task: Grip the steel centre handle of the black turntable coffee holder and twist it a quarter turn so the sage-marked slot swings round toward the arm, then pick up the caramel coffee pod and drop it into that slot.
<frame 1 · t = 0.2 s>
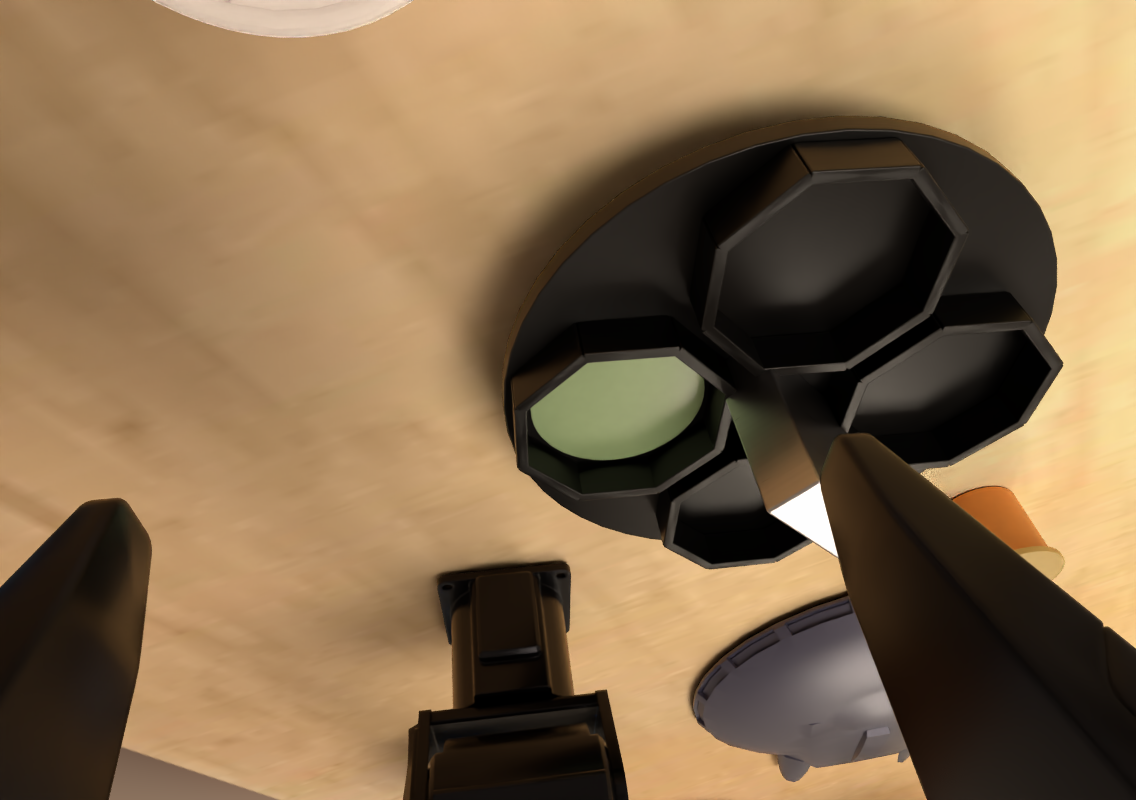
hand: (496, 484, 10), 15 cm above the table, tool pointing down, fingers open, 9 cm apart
cup holder: (799, 442, 25), point 5 cm above the table, hinge at 0.0°
coffee pod: (973, 510, 40), on the table
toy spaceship: (861, 679, 54), on the table
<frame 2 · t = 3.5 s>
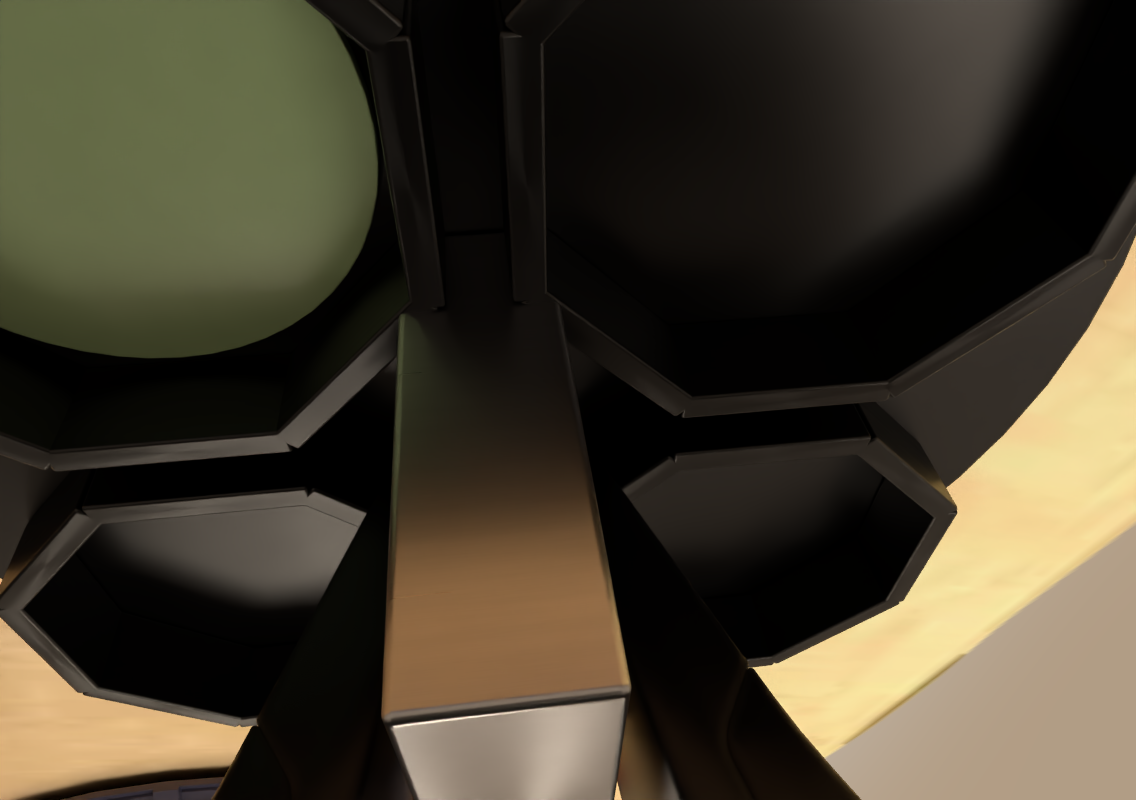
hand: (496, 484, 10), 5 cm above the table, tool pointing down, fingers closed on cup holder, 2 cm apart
cup holder: (498, 521, 10), point 5 cm above the table, hinge at 0.0°, touching gripper
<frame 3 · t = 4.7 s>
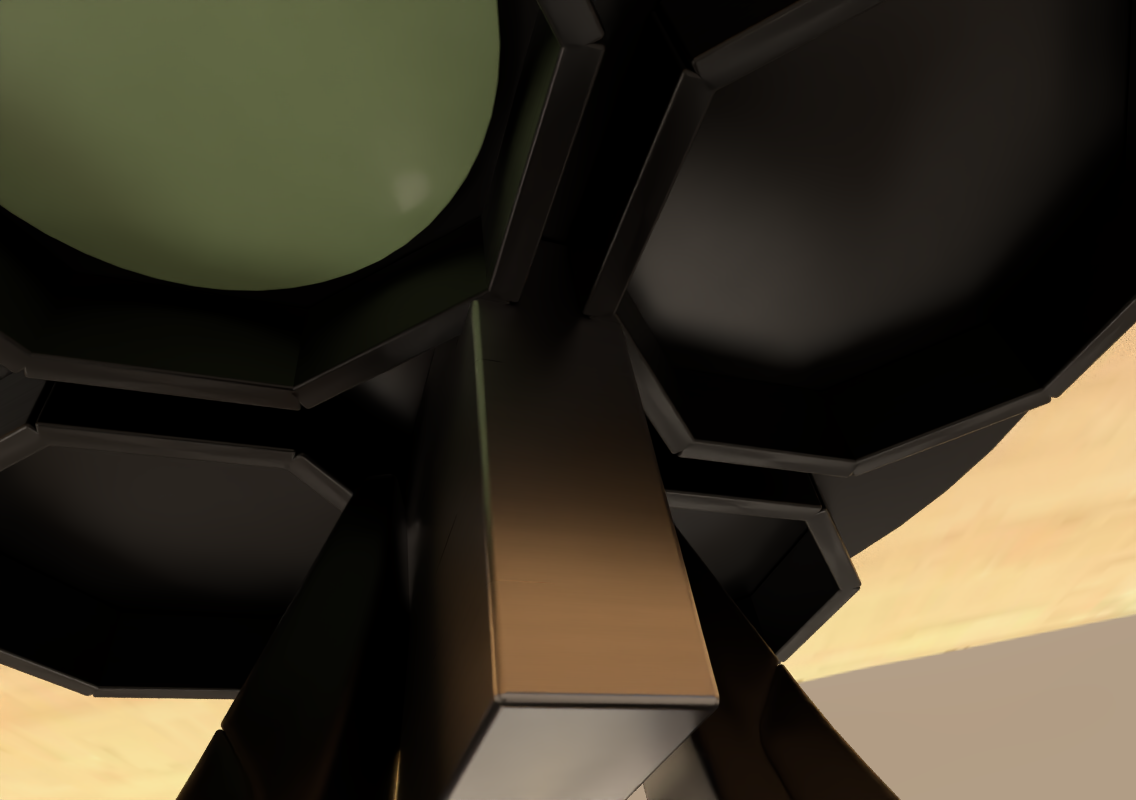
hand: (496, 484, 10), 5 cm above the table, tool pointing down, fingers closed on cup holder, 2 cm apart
cup holder: (501, 522, 10), point 5 cm above the table, hinge at 44.8°, touching gripper
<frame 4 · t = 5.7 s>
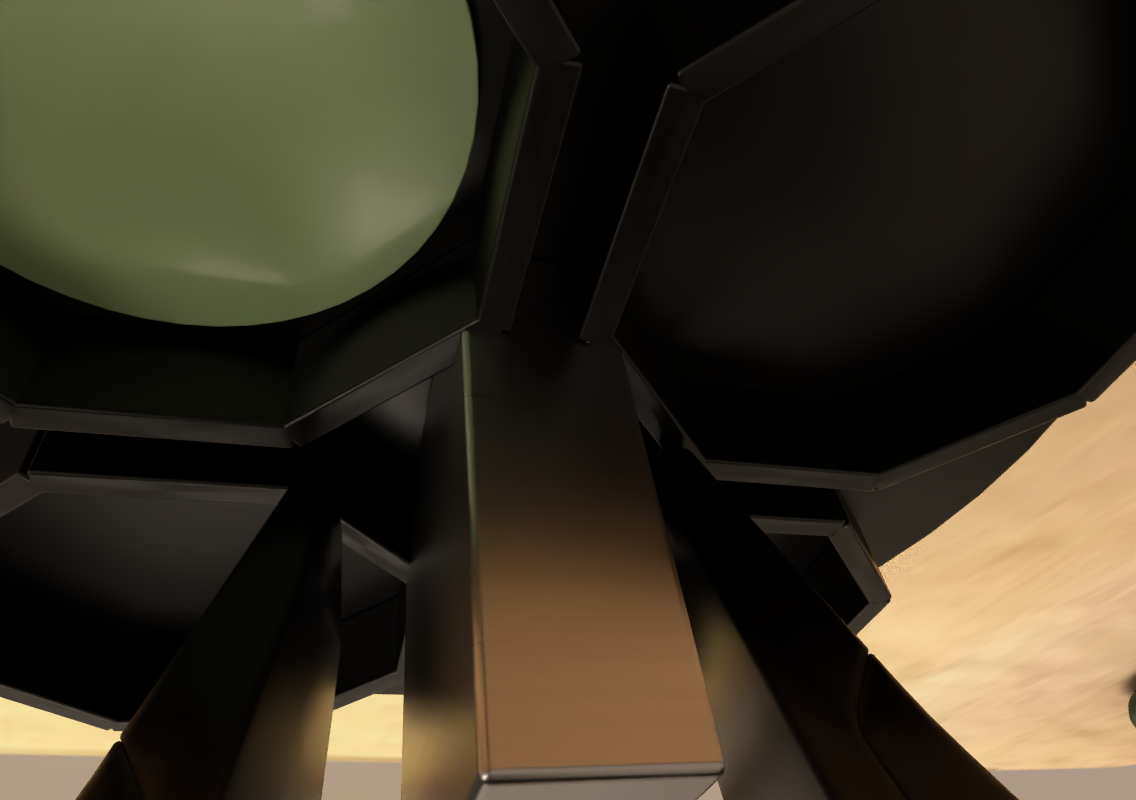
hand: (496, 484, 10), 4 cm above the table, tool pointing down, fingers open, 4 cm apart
cup holder: (504, 556, 9), point 5 cm above the table, hinge at 80.4°, touching gripper
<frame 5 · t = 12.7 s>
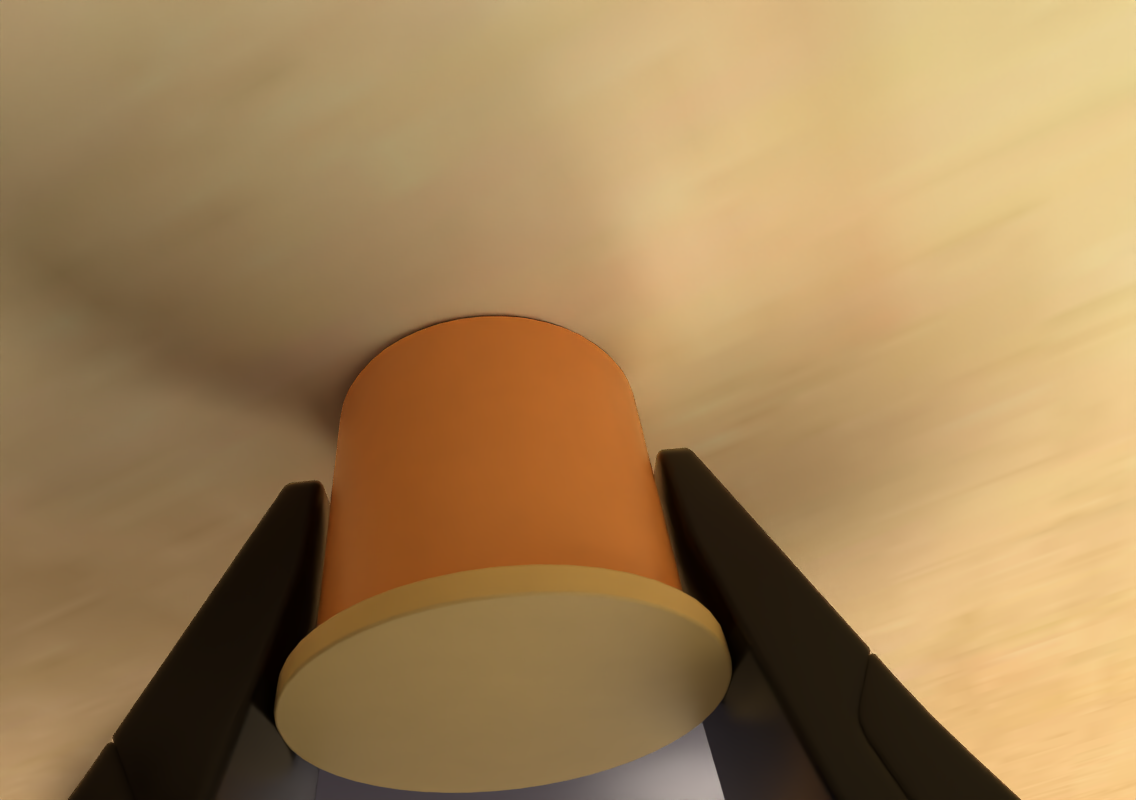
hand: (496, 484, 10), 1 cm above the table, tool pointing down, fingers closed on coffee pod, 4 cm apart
coffee pod: (491, 426, 11), on the table, touching gripper
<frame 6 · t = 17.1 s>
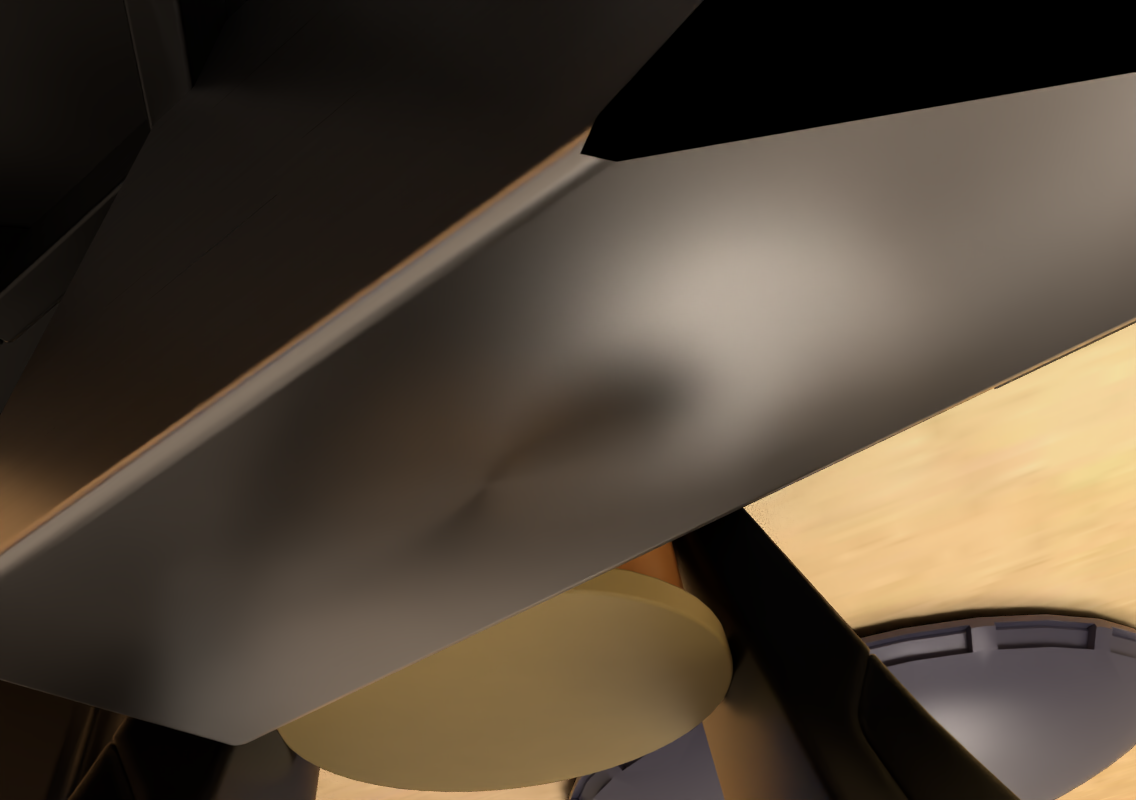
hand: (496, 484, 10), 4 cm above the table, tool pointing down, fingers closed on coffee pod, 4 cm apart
cup holder: (461, 89, 5), point 5 cm above the table, hinge at 80.4°
coffee pod: (491, 423, 11), point 3 cm above the table, touching gripper
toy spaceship: (846, 767, 34), on the table
when the fingers open (6 cm above the table, at t = 24.3 s): coffee pod drops 2 cm, resting on cup holder.
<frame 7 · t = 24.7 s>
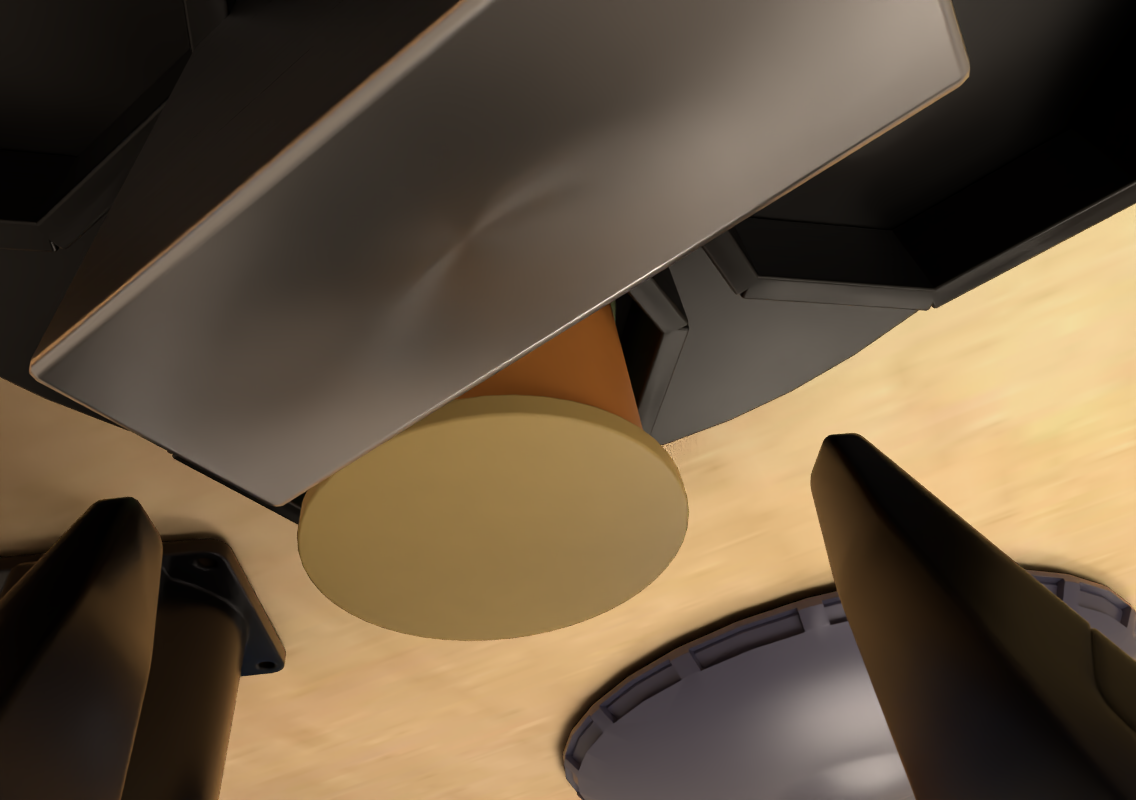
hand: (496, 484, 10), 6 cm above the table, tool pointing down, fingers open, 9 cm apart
cup holder: (452, 5, 6), point 5 cm above the table, hinge at 80.6°, touching coffee pod
coffee pod: (483, 330, 12), point 3 cm above the table, touching cup holder
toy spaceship: (831, 729, 35), on the table
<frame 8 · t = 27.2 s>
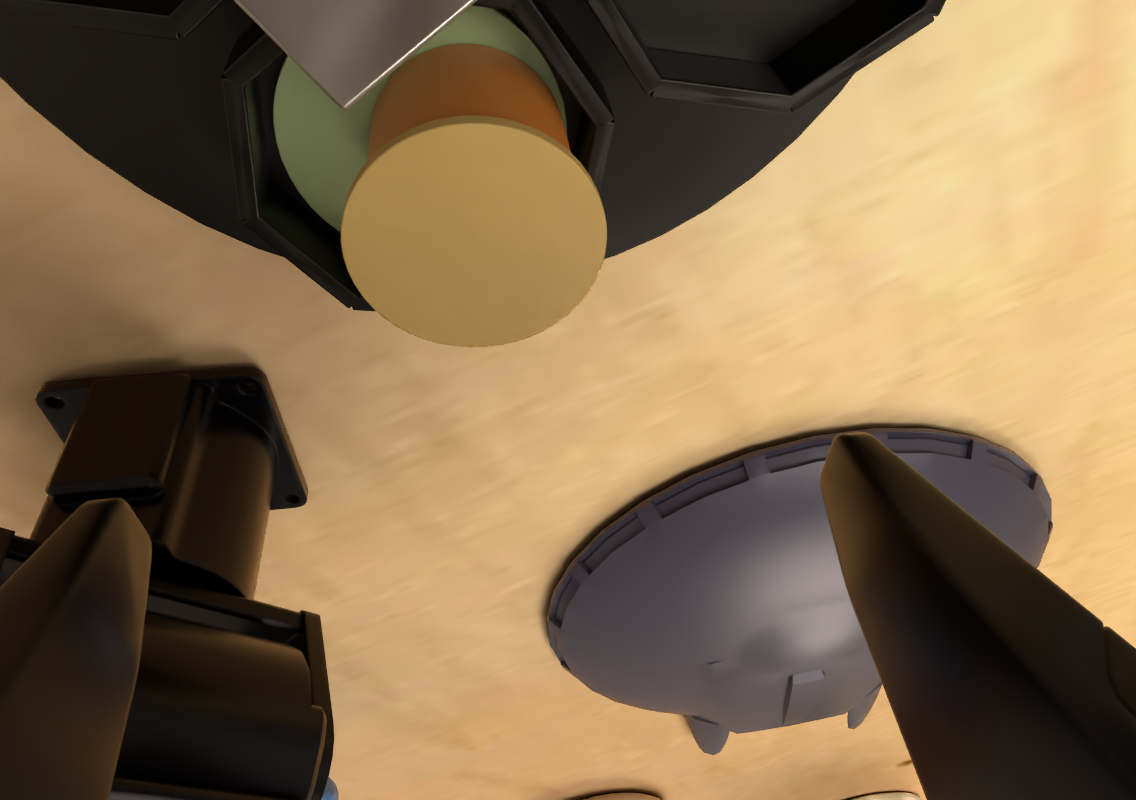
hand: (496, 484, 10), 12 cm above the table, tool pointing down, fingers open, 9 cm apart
coffee pod: (469, 139, 16), point 3 cm above the table, touching cup holder
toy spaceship: (787, 606, 39), on the table
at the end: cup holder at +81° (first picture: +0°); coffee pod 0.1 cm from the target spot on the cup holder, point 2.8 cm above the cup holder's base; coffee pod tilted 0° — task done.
